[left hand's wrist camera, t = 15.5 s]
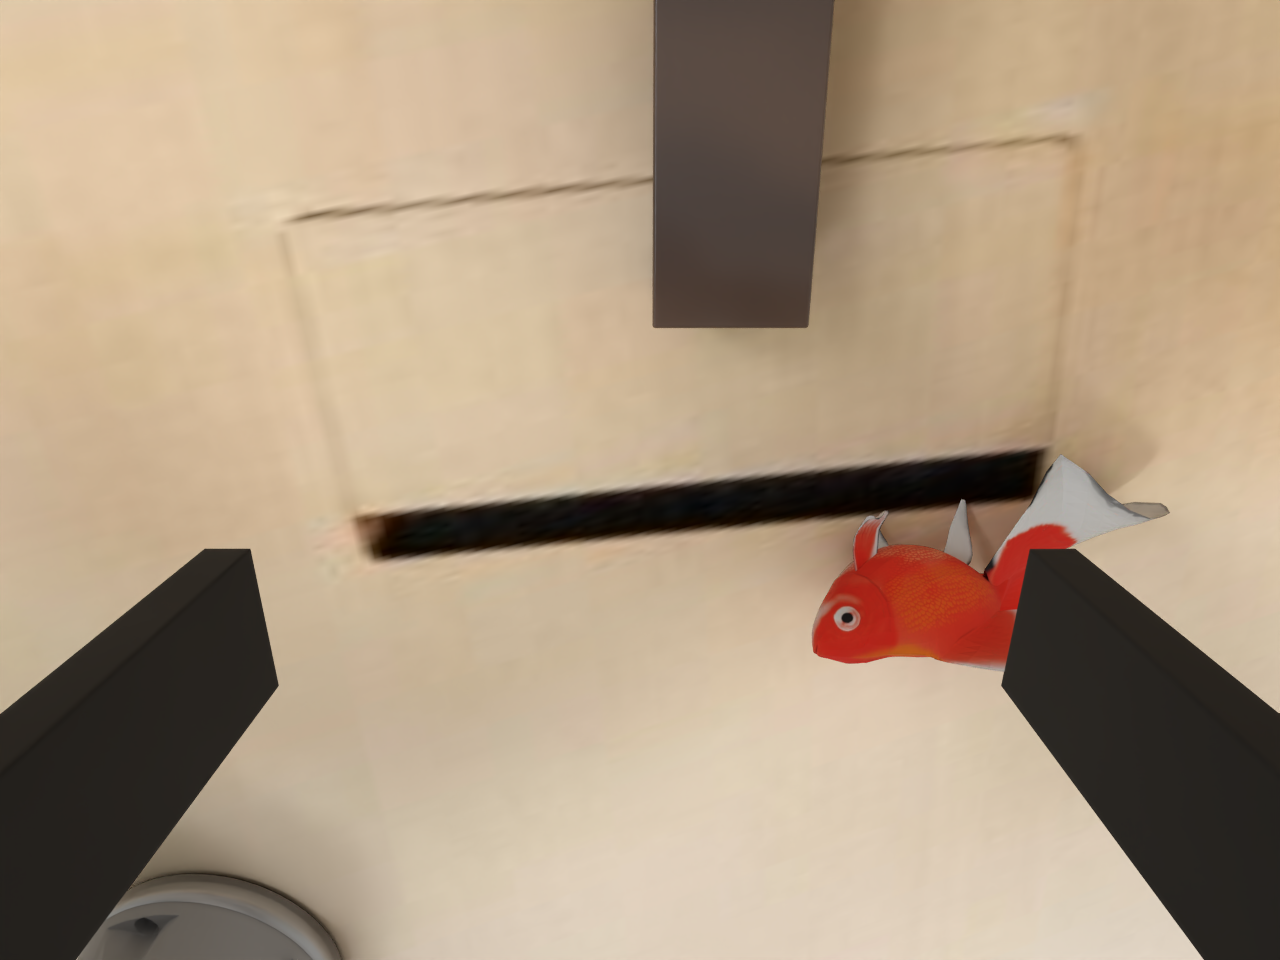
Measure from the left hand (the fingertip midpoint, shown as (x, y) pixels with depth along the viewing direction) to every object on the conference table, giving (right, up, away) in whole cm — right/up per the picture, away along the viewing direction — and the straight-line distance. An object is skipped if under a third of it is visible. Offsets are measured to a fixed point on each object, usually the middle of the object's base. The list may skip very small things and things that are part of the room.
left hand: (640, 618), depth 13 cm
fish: (+15, 0, +22) cm, 27 cm away
